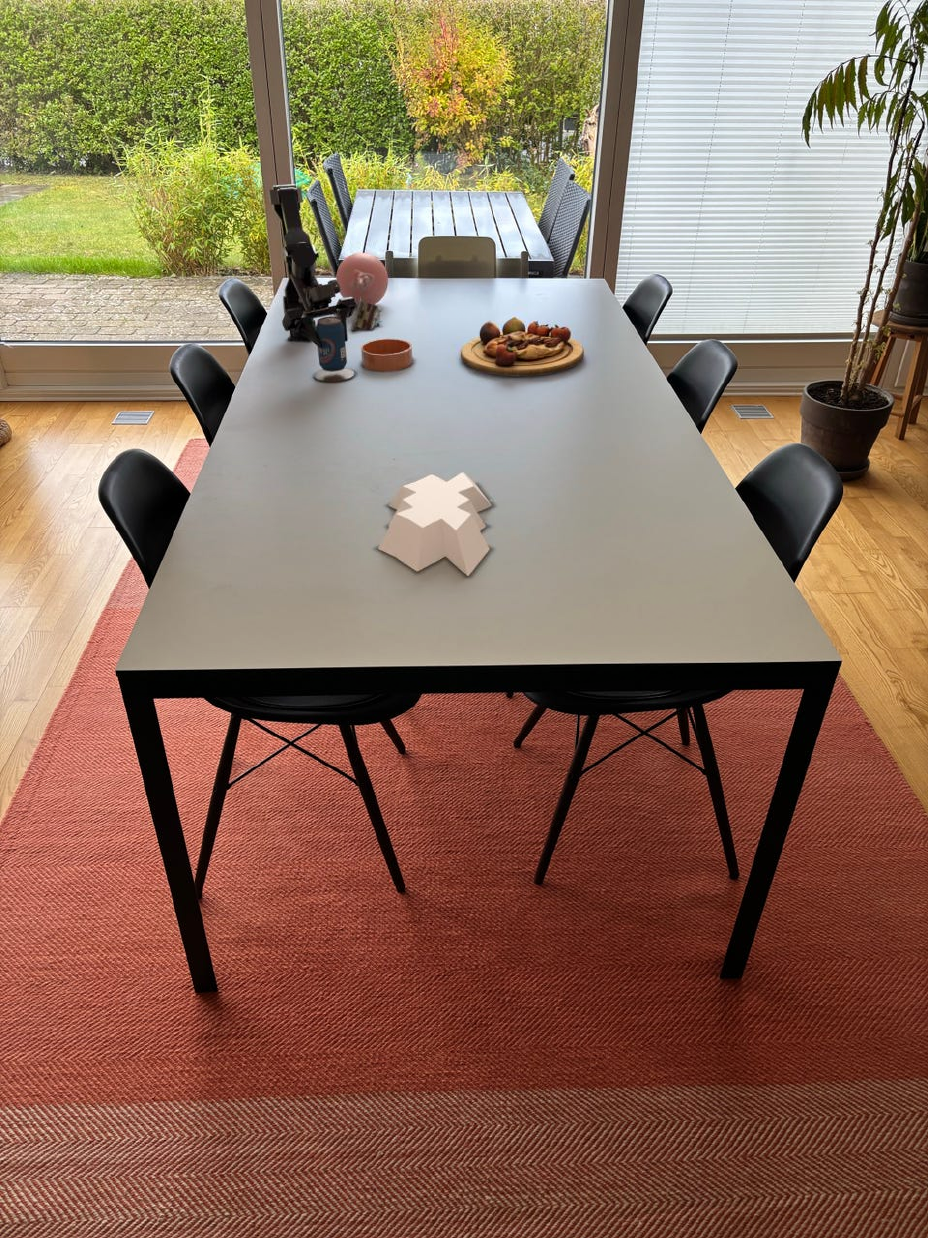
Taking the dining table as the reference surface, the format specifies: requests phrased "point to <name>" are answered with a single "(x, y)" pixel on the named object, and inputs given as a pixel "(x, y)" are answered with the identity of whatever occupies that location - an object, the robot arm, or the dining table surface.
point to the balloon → (362, 278)
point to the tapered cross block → (437, 523)
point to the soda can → (331, 344)
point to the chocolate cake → (366, 316)
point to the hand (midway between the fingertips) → (333, 343)
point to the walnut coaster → (334, 376)
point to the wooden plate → (522, 349)
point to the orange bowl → (386, 354)
